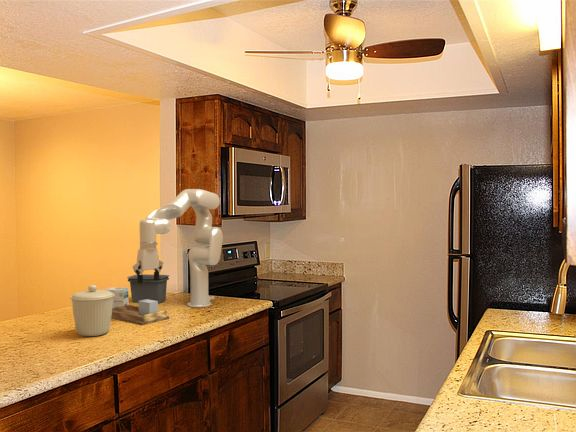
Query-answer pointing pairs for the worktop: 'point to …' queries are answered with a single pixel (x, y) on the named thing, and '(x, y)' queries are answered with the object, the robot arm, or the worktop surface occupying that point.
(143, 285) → the storage bin
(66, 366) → the worktop surface
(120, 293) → the light bulb box
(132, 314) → the board
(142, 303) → the panel block
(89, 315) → the canister
